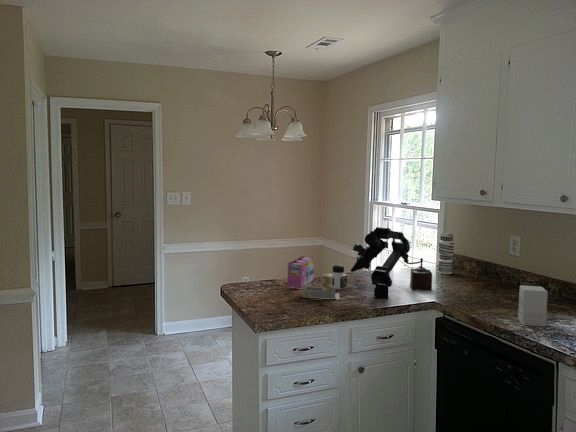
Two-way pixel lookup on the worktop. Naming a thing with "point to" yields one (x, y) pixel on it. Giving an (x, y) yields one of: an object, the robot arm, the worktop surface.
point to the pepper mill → (419, 276)
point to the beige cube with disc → (327, 282)
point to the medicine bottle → (339, 277)
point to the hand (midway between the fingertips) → (351, 271)
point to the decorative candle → (445, 253)
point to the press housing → (319, 292)
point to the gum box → (300, 272)
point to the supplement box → (532, 305)
